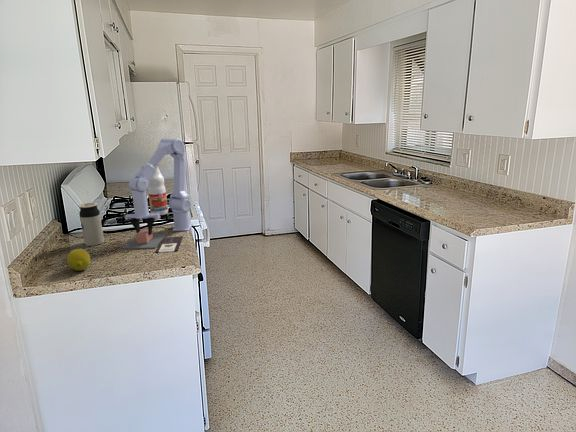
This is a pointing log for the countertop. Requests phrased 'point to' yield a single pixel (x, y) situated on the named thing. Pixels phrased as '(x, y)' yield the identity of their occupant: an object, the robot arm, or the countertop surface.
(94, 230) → the travel mug
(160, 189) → the fruit juice
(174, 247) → the chocolate bar
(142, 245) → the mat
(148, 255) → the countertop surface
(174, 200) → the robot arm
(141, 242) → the block
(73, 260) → the lemon
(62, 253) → the countertop surface
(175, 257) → the countertop surface
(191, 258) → the countertop surface
